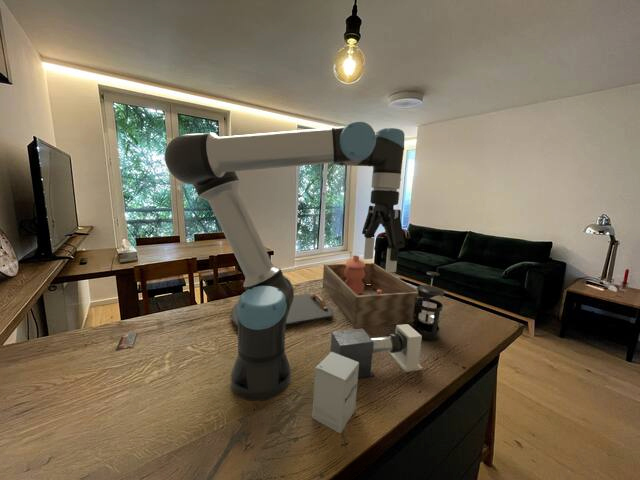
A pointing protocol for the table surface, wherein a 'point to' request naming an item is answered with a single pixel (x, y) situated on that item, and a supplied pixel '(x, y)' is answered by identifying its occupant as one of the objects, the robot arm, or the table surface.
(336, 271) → the box
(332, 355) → the supplement box
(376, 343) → the rod
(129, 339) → the chocolate bar
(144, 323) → the table surface
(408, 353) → the socket
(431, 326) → the french press
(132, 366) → the table surface
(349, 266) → the ceramic vessels
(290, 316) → the serving board
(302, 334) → the table surface
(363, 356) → the dark grey block
